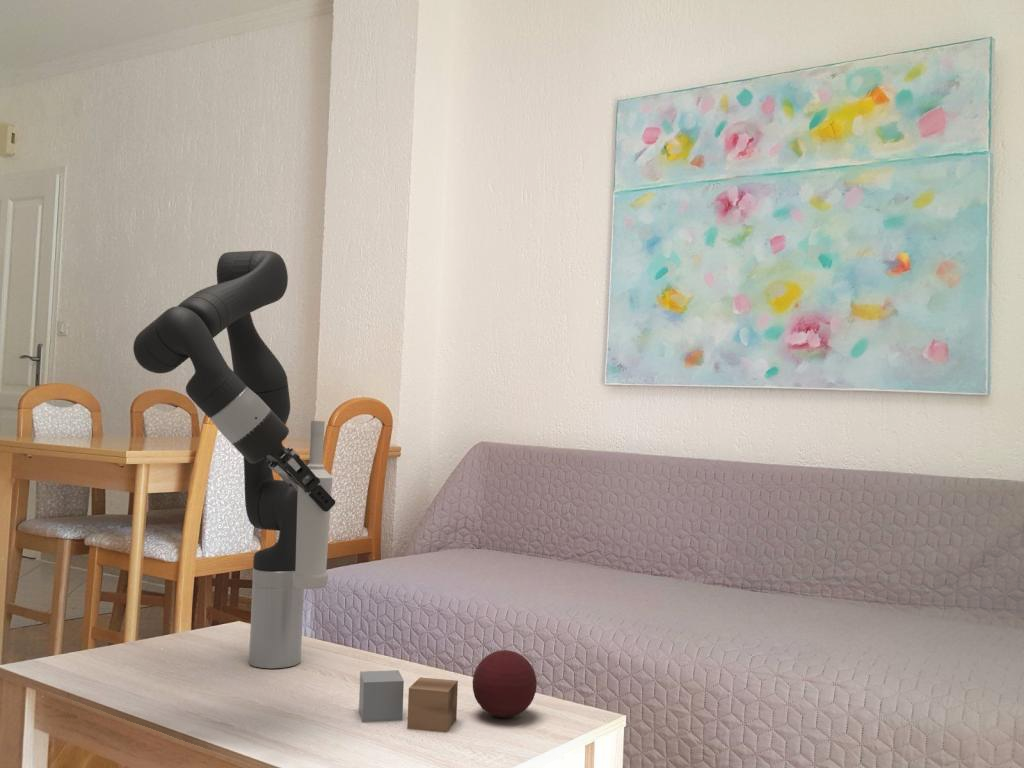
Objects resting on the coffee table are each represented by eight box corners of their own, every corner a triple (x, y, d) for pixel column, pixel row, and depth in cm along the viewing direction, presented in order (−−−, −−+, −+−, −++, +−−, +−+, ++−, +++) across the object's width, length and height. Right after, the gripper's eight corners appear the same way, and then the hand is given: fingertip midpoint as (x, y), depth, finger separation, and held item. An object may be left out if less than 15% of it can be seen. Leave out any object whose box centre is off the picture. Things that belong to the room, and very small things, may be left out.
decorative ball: (458, 717, 143) (460, 651, 143) (496, 702, 151) (498, 640, 152) (511, 731, 137) (513, 663, 138) (548, 715, 145) (550, 650, 146)
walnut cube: (418, 716, 143) (419, 677, 143) (456, 720, 142) (457, 680, 142) (407, 729, 137) (408, 688, 137) (446, 733, 136) (448, 691, 136)
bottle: (333, 585, 142) (341, 421, 143) (316, 590, 137) (324, 421, 138) (304, 581, 144) (312, 420, 145) (285, 587, 139) (293, 420, 140)
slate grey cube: (358, 710, 145) (360, 671, 145) (397, 708, 146) (398, 670, 147) (362, 722, 139) (363, 682, 139) (402, 721, 141) (403, 680, 141)
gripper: (278, 407, 132) (356, 492, 137) (259, 406, 145) (332, 484, 150) (238, 444, 129) (319, 529, 134) (222, 440, 142) (297, 517, 147)
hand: (325, 505), depth 142 cm, fingers closed on bottle, 5 cm apart
